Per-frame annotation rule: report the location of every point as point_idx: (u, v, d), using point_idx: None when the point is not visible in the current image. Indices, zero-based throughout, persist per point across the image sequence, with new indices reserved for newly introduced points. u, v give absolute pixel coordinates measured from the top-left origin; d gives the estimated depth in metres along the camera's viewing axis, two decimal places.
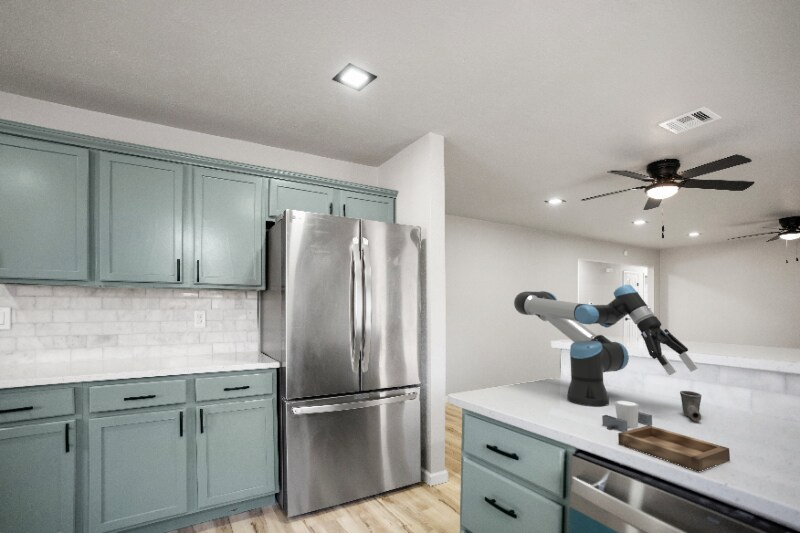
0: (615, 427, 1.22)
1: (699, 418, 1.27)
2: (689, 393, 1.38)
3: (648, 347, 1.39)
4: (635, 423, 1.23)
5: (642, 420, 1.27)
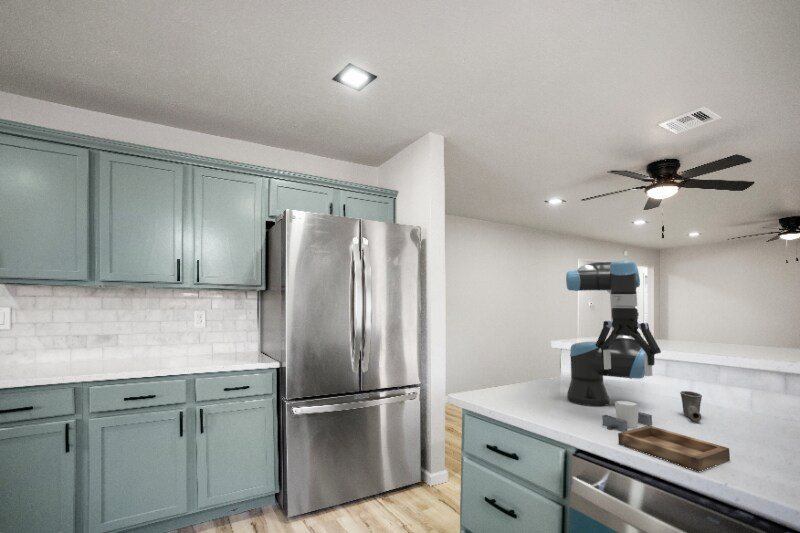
0: (615, 427, 1.22)
1: (699, 418, 1.27)
2: (689, 393, 1.38)
3: None
4: (635, 423, 1.23)
5: (642, 420, 1.27)
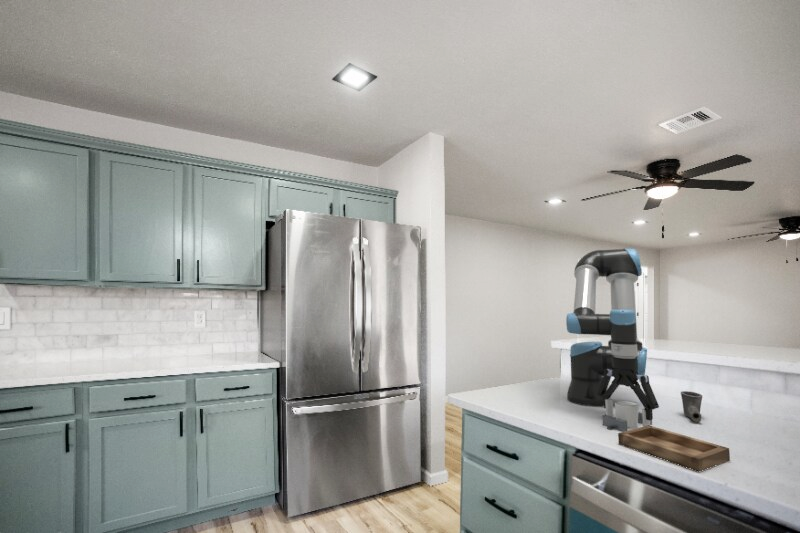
0: (615, 427, 1.22)
1: (699, 419, 1.27)
2: (690, 393, 1.37)
3: None
4: (635, 423, 1.23)
5: (642, 420, 1.27)
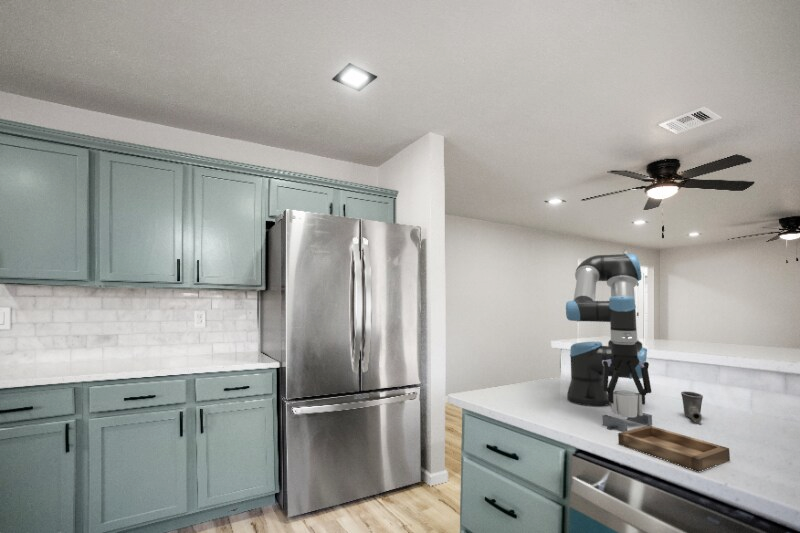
0: (615, 427, 1.22)
1: (700, 419, 1.26)
2: (690, 394, 1.37)
3: (602, 379, 1.29)
4: (634, 412, 1.24)
5: (642, 420, 1.27)
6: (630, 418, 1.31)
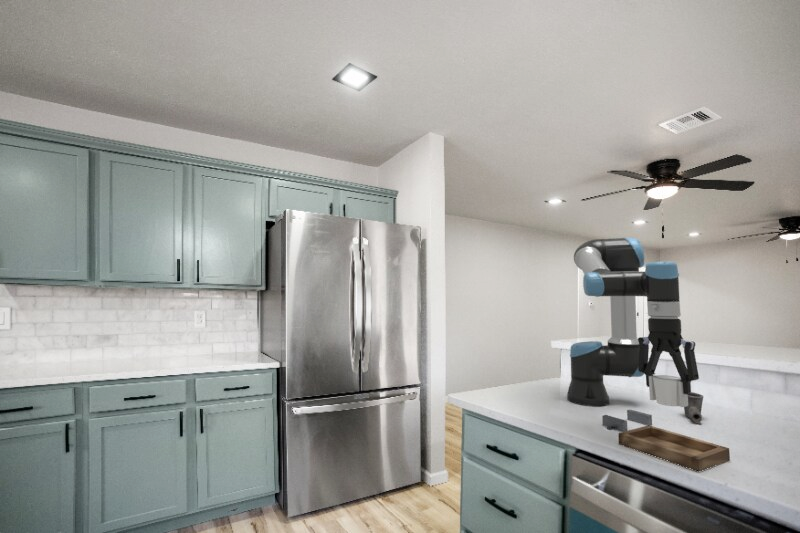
0: (615, 427, 1.22)
1: (700, 419, 1.26)
2: (691, 394, 1.37)
3: None
4: (670, 401, 1.03)
5: (642, 420, 1.27)
6: (630, 418, 1.31)
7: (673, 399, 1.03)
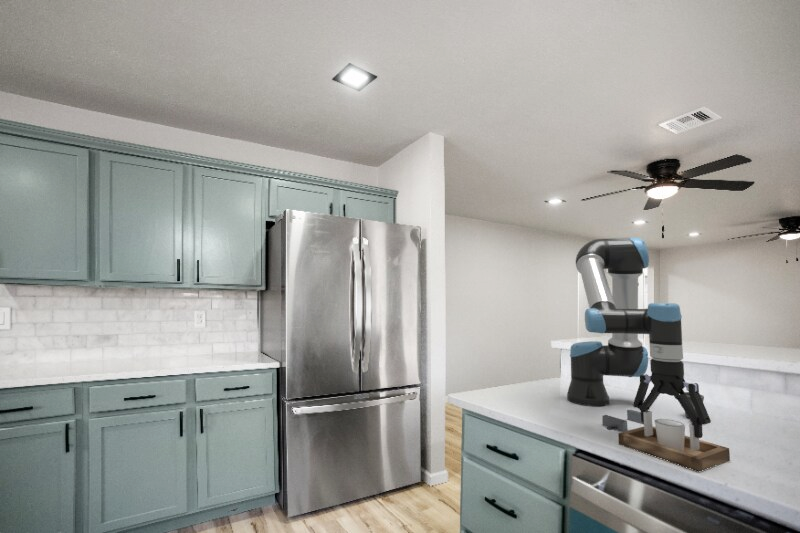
0: (615, 427, 1.22)
1: None
2: None
3: None
4: (672, 447, 1.02)
5: None
6: (630, 418, 1.31)
7: (675, 446, 1.02)
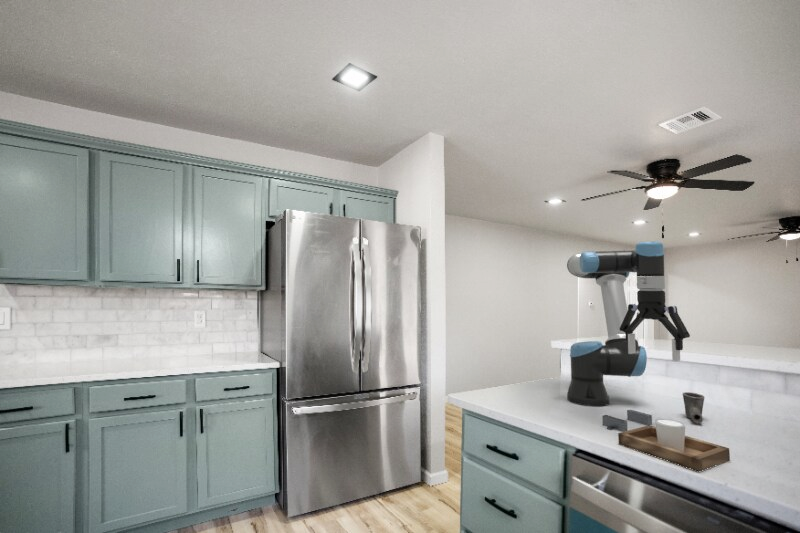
0: (615, 427, 1.22)
1: (700, 420, 1.25)
2: (692, 395, 1.36)
3: None
4: (672, 447, 1.02)
5: (642, 420, 1.27)
6: (630, 418, 1.31)
7: (675, 446, 1.02)
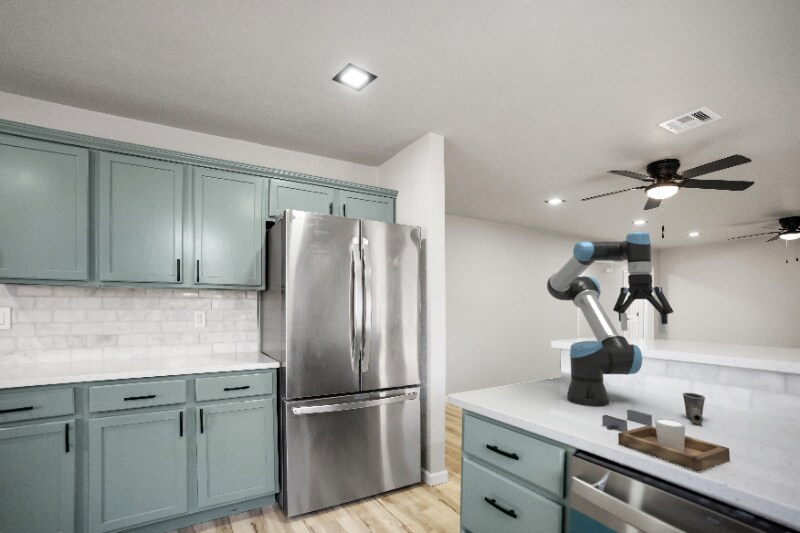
0: (615, 427, 1.22)
1: (701, 421, 1.25)
2: (693, 395, 1.35)
3: None
4: (672, 447, 1.02)
5: (642, 420, 1.27)
6: (630, 418, 1.31)
7: (675, 446, 1.02)
